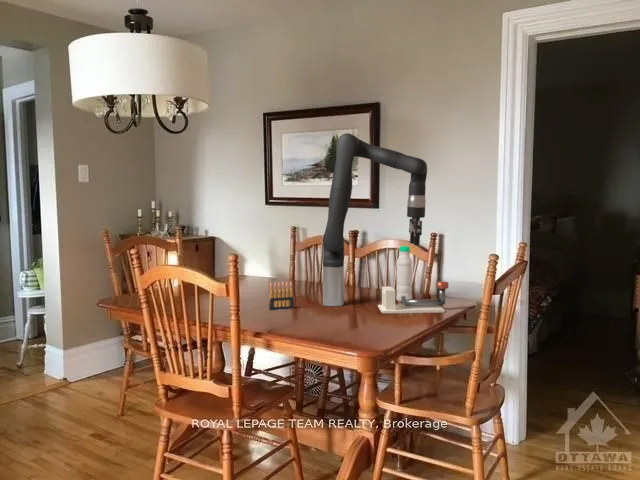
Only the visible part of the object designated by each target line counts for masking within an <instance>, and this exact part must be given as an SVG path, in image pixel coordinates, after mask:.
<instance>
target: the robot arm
mask: <svg viewBox="0 0 640 480" xmlns="http://www.w3.org/2000/svg"><path fill="white" fill-rule="evenodd" d="M335 151H336V152H335V165H334V171H333V175H332V180H331V186H330V190H329V192H330V193H329V198H328V212H327V213H328V214H327V215H328V216H327V222H326V227H325V231H324V234H323V237H322V245H323V253H322V306H324V307H325V306H328V307H338V306H339V307H340V306H343V305H344V304H345V291H344V290H345V285H344V284H345V283H344V282H345V280H344V279H345V275H344V273H345V272H344V271H345V266H344V265H345V238H344V230H345V228H344V227H345V220H346V217H347V214H348V212H349V211H348V210H349V207H350V204H351V199H352V191H353V172H352V170H353V169H352V168H353V162H354V158H356V157H357V158H363V159H367V160H370V161H373V162H375V163H378V164H381V165H383V166H387V167H390V168H393V169H395V170H401V171H404V172H406V173H409V174H410V181H409V184H408V195H407V206H406V209H407V210H406V217H407V218H409V228H408V233H409V243H410V244H413V245H414V246H420V245H421V244H420V243H421V241H420V240H421V239H420V238H421V236H422V235H423V232H422V231H423V221H422V220H421V219H423V218H425V217H426V203H427V202H426V189H427V188H426V183H427V182H426V180H427V176H428V175H427V174H428V164H427V162H426V161H425V160H424V159H422V158H419V157H416V156H412V155H407V154H405V153H402V152H399V151H397V150H393V149H390V148H386V147H381V146H377V145H373V144H370V143H367V142H366V141H363V140H362V139H359V138H358V137H357V136H356V135H354V134H352V133H348V132H347V133H343V134H341V135H340V136H339V138H338V139H337V141H336V150H335Z"/></svg>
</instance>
